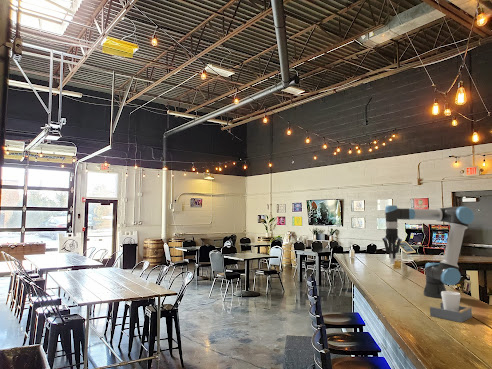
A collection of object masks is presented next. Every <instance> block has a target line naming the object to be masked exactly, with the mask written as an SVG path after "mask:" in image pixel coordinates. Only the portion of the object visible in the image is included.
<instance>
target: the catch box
mask: <svg viewBox="0 0 492 369" xmlns="http://www.w3.org/2000/svg"><path fill="white" fill-rule="evenodd" d="M439 304H440V307H435V306H429V316H430V317H432V318H436V319H437V318H438V319H443V320H447V321H451V322H456V323H464V322H466V321H468V320H470V319H471V318H473V312H472V311H473V310H472V306H471V305H470V306H462V305H459V312H456V311H450V310H445V309H444V306H443V302H440V303H439Z"/></svg>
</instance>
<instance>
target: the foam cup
mask: <svg viewBox="0 0 492 369" xmlns="http://www.w3.org/2000/svg"><path fill="white" fill-rule="evenodd" d="M441 296H442V298H441V300H442V303H443V306H444V309H445V310H450V311H456V312H459V306H460V302H461V301H460V300H461V293H460V292H457V291H450V290H446V291H442V292H441Z"/></svg>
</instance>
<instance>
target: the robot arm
mask: <svg viewBox="0 0 492 369" xmlns="http://www.w3.org/2000/svg"><path fill="white" fill-rule="evenodd" d="M384 213H385V214H384V215H385V237H382V238H381V239H382V242H383V244H384V249H385V253H388V256H389V257H388V258H389V260H390V262H389V263H390V264H395V261H396V260H395V259H396V258H397V257H396V256H397V255H396V254H398V253H399V251H400V246H401V242H402V241H403V239H402V238H400V237H399V235H398V234H399V230H398V225H399V224H398V221H399V220H405V221H406V220H407V221H408V220H414V221H415V220H421V221H423V220H424V221H436V222H443V223H448V226H450V228H449V232H448V236H447V241H446V245H445V249H444V252H443V258H442V260H441V261H439V262H427V263H425V265H424V266H425V267H424V269H425V286H424V289H423V295H424V296H427V297H430V298H438V299H442V296H441V292H442V291H447V289H446V286H455V285H457V284H458V283H459V282H460V281H461V277H462V274H461V272H460V271H459V269H460V266H459V265H458V262H459V257H460V252H461V248H462V243H463V239H464V234H465V231H466V230H467V229H469V225H471V223H473V222H474V220H475V214H474V212H473V210H472V209H471V208H469V207H468V206H461V205H460V206H449V207H439V208H438V207H436V208H435V209H427V208H426V209H423V208H422V209H421V208H420V209H419V208H398V206H397V205H386V206H385V211H384ZM445 285H446V286H445Z"/></svg>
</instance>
